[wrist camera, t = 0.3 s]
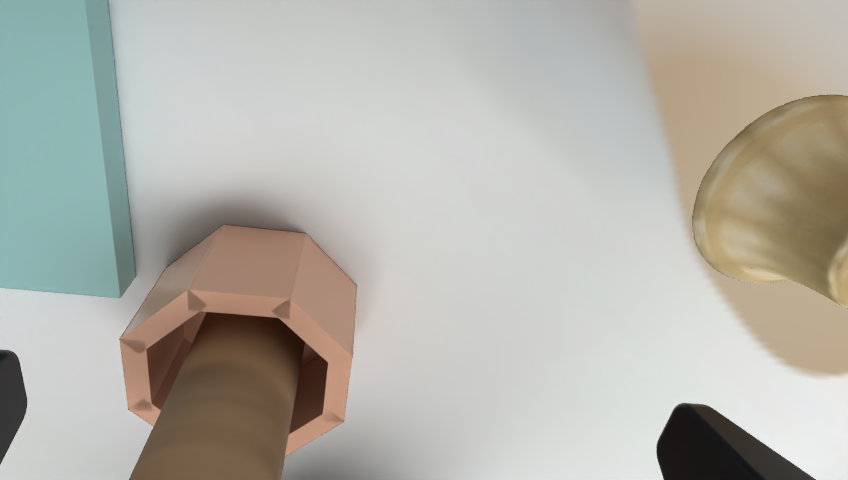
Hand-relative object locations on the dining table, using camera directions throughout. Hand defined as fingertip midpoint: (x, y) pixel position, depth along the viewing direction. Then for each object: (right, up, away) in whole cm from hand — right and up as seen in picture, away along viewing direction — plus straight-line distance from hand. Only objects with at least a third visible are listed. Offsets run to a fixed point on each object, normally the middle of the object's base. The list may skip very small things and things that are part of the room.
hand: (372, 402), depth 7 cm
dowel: (-6, -1, +15) cm, 16 cm away
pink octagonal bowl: (-6, -1, +15) cm, 17 cm away
